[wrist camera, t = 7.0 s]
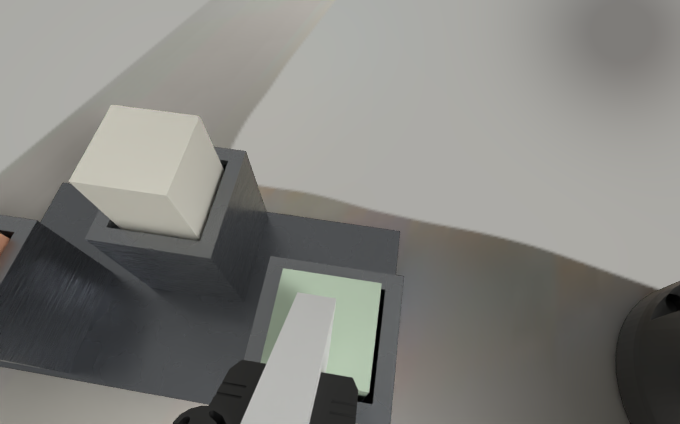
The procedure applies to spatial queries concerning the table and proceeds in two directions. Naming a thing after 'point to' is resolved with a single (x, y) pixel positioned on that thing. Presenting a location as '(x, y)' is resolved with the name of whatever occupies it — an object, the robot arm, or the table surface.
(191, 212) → the ivory button
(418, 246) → the table surface
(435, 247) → the table surface
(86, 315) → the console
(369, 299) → the sage button
